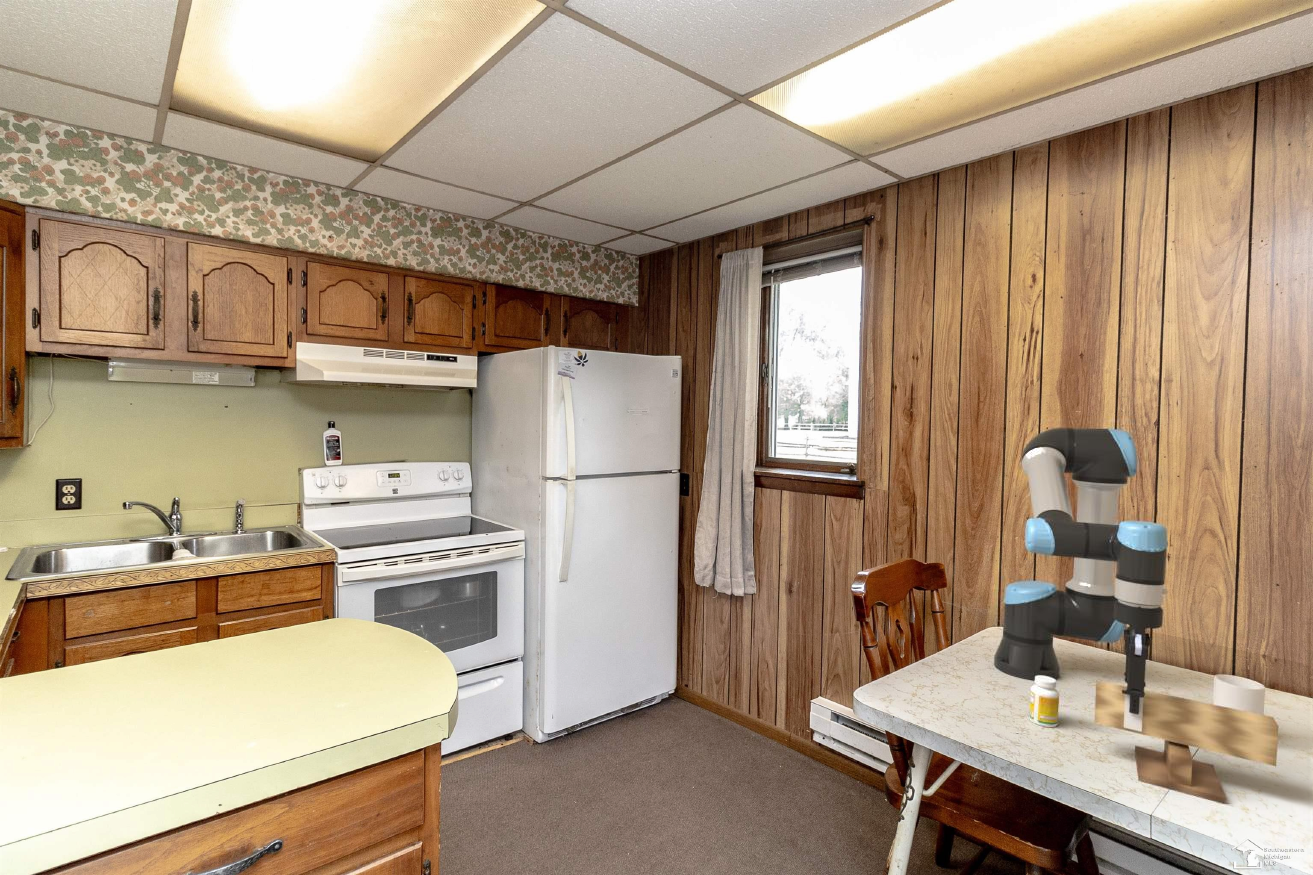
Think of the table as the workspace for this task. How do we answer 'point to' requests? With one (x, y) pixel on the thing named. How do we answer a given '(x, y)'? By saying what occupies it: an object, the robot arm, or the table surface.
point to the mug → (1239, 693)
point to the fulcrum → (1178, 771)
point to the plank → (1193, 723)
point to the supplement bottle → (1044, 702)
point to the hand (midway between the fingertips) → (1131, 723)
